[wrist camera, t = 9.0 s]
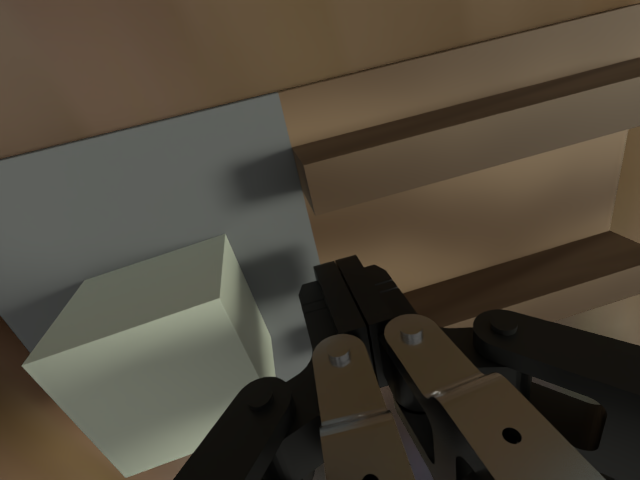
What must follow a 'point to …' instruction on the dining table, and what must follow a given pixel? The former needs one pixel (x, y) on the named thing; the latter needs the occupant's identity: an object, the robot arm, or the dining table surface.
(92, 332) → the pale block
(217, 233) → the pad
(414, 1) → the dining table surface
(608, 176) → the chute
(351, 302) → the robot arm
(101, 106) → the dining table surface
